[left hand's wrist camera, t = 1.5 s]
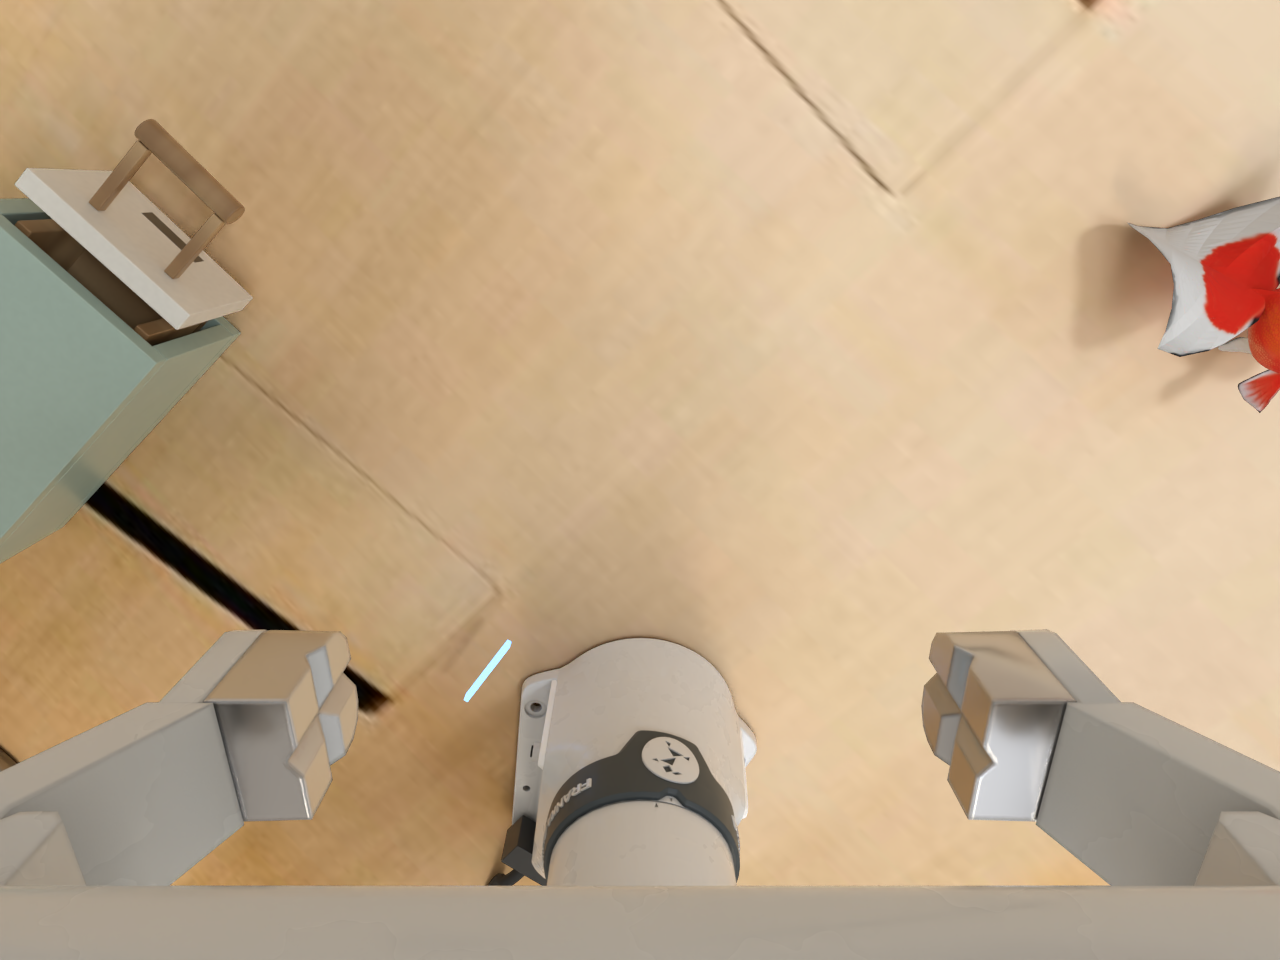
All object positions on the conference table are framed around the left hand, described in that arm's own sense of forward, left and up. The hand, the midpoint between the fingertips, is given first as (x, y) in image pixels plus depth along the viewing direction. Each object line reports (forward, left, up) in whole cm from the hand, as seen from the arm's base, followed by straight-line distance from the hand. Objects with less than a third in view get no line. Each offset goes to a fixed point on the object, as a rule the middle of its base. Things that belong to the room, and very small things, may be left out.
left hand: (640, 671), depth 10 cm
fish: (+11, -33, -38) cm, 52 cm away
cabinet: (-16, +33, -38) cm, 53 cm away
